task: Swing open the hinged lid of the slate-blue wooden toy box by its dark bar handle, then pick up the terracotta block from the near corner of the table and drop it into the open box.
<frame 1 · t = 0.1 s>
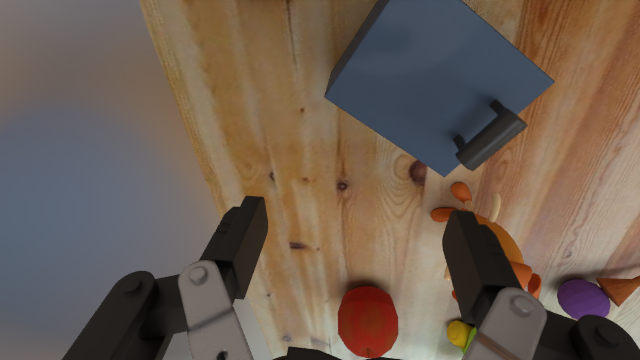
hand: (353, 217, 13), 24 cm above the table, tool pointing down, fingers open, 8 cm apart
sorter box: (415, 62, 31), on the table
turtle toy: (488, 330, 58), on the table
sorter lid: (437, 97, 24), point 9 cm above the table, hinge at 0.0°
purple toy maraca: (624, 267, 44), on the table
toy figure: (460, 204, 41), on the table
apple: (367, 291, 55), on the table
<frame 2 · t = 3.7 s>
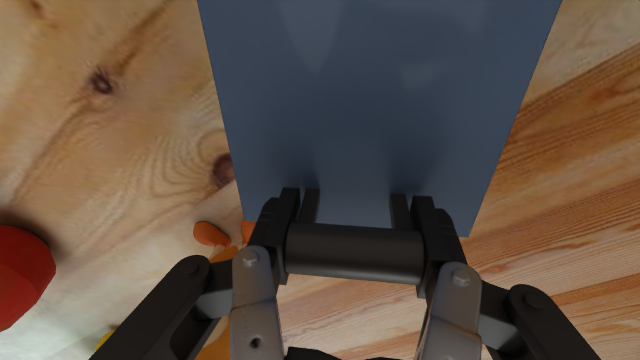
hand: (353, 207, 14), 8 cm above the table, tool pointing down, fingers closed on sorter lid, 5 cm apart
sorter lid: (361, 111, 10), point 9 cm above the table, hinge at 0.0°, touching gripper
toy figure: (238, 238, 29), on the table
apple: (30, 239, 33), on the table
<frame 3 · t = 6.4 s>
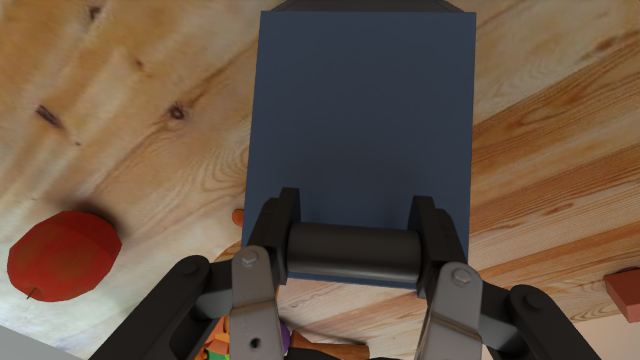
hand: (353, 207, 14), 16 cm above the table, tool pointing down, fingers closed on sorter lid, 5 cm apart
sorter box: (358, 88, 26), on the table
block: (625, 280, 37), on the table
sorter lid: (358, 135, 14), point 14 cm above the table, hinge at 41.3°, touching gripper
purple toy maraca: (314, 331, 54), on the table
toy figure: (265, 222, 38), on the table
apple: (99, 223, 42), on the table
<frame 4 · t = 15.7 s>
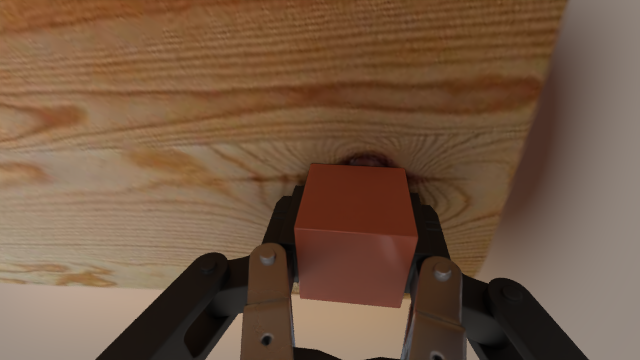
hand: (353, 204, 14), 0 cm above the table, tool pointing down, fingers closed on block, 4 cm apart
block: (354, 201, 14), on the table, touching gripper
when the fingers open (13 cm above the table, at t = 22.5 s): block drops 12 cm, resting on sorter box.
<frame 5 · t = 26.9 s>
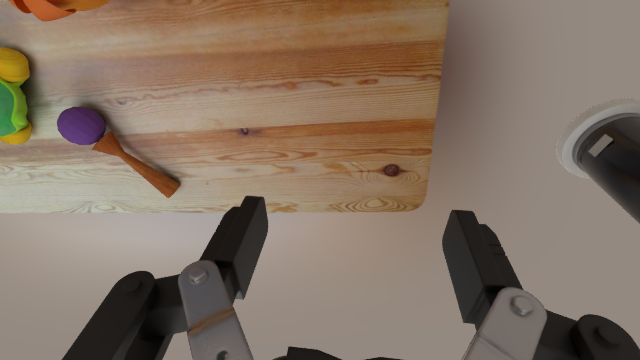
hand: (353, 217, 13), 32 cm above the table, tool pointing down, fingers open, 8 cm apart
purple toy maraca: (133, 147, 53), on the table
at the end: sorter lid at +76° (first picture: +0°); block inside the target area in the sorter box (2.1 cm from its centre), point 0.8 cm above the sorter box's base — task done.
